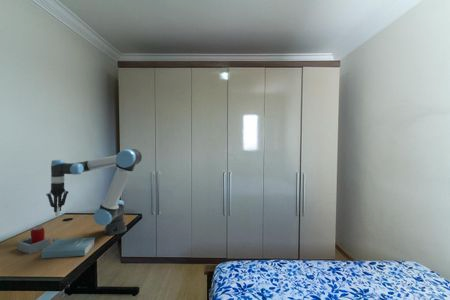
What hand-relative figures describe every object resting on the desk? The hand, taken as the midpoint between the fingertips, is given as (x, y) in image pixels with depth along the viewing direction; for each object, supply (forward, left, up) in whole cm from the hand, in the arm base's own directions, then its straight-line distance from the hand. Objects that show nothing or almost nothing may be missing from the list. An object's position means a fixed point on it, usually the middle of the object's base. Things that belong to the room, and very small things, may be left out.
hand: (57, 216), depth 163 cm
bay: (-4, +14, -15) cm, 21 cm away
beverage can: (-3, +14, -15) cm, 21 cm away
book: (-27, +10, -16) cm, 32 cm away
